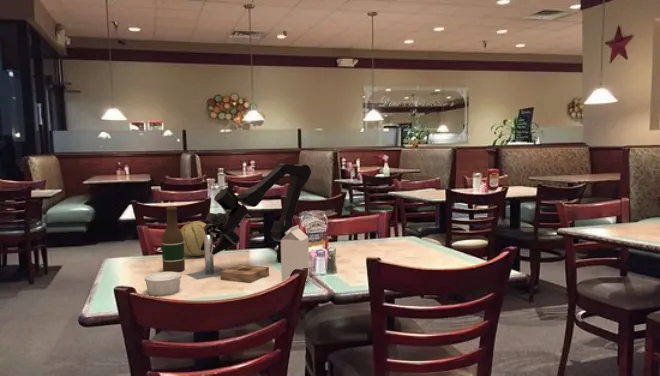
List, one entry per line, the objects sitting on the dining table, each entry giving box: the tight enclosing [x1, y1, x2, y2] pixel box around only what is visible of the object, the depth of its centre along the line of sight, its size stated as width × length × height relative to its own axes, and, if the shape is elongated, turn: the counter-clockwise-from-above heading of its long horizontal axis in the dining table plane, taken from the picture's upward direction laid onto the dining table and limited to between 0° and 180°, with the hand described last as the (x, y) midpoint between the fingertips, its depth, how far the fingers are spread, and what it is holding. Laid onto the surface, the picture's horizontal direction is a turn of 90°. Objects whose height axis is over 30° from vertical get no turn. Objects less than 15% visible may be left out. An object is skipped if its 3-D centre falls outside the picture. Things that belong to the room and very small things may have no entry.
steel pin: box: [204, 234, 215, 275], centre depth 193 cm, size 3×3×14 cm
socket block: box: [220, 264, 270, 284], centre depth 187 cm, size 12×12×3 cm
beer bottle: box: [161, 206, 186, 273], centre depth 198 cm, size 8×8×24 cm
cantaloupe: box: [179, 220, 207, 257], centre depth 225 cm, size 15×15×15 cm
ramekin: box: [144, 271, 182, 296], centre depth 172 cm, size 11×11×5 cm
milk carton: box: [280, 224, 310, 283], centre depth 179 cm, size 7×7×19 cm
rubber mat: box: [185, 267, 226, 280], centre depth 193 cm, size 14×10×1 cm
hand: (206, 252), depth 192 cm, fingers open, 9 cm apart
